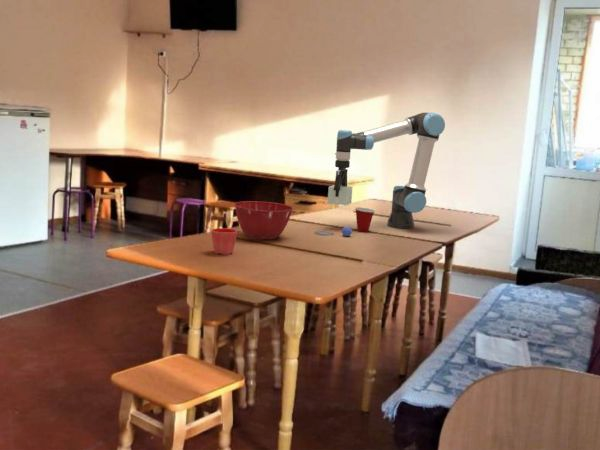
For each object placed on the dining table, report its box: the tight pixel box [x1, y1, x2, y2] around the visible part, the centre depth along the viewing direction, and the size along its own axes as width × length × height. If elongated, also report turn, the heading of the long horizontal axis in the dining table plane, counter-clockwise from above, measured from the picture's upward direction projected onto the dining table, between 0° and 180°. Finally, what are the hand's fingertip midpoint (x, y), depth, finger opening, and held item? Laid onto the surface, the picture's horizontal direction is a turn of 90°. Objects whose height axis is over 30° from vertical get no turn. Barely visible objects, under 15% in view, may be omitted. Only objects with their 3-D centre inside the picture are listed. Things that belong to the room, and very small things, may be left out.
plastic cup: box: [354, 206, 376, 233], centre depth 365 cm, size 11×11×12 cm
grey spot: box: [313, 230, 334, 236], centre depth 351 cm, size 10×10×1 cm
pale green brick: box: [327, 184, 353, 206], centre depth 364 cm, size 10×10×9 cm
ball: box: [341, 225, 353, 237], centre depth 347 cm, size 5×5×5 cm
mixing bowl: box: [233, 200, 294, 240], centre depth 330 cm, size 28×28×16 cm
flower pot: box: [210, 227, 238, 255], centre depth 290 cm, size 11×11×10 cm
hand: (339, 201), depth 365 cm, fingers closed on pale green brick, 10 cm apart
